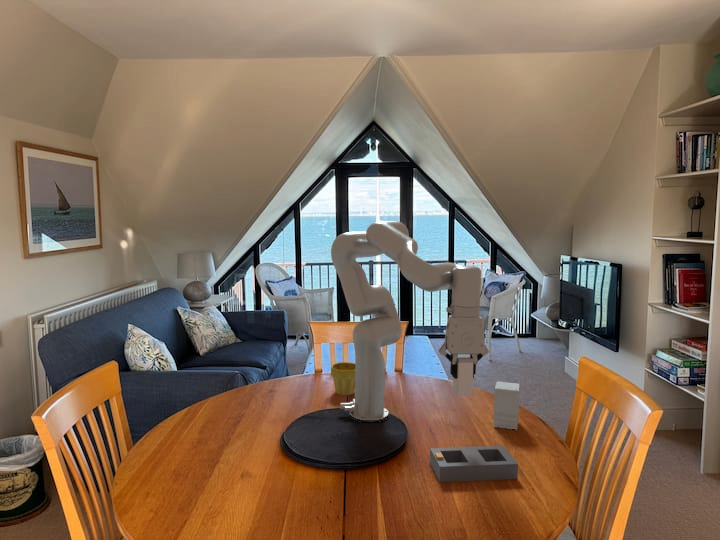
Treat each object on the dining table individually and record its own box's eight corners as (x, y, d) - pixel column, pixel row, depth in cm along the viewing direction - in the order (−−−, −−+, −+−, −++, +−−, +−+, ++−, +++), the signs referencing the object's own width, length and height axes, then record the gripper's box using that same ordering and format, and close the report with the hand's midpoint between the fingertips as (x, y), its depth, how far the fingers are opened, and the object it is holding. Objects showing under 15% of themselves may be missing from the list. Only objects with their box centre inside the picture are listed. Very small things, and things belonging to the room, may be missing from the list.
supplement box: (518, 421, 169) (520, 383, 167) (517, 430, 162) (519, 390, 160) (494, 418, 171) (496, 380, 170) (492, 427, 164) (494, 387, 163)
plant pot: (359, 397, 188) (359, 370, 186) (329, 396, 188) (330, 370, 187) (359, 387, 198) (360, 362, 197) (331, 387, 198) (332, 361, 197)
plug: (458, 395, 143) (458, 359, 143) (452, 390, 148) (453, 355, 147) (472, 395, 144) (473, 359, 143) (466, 390, 148) (467, 355, 148)
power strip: (439, 482, 131) (440, 464, 130) (429, 462, 141) (430, 446, 140) (517, 479, 133) (518, 461, 132) (502, 460, 143) (503, 443, 142)
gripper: (438, 314, 139) (436, 382, 141) (500, 314, 141) (497, 380, 143) (431, 308, 146) (429, 373, 148) (490, 308, 148) (487, 372, 150)
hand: (462, 376), depth 146 cm, fingers closed on plug, 4 cm apart
